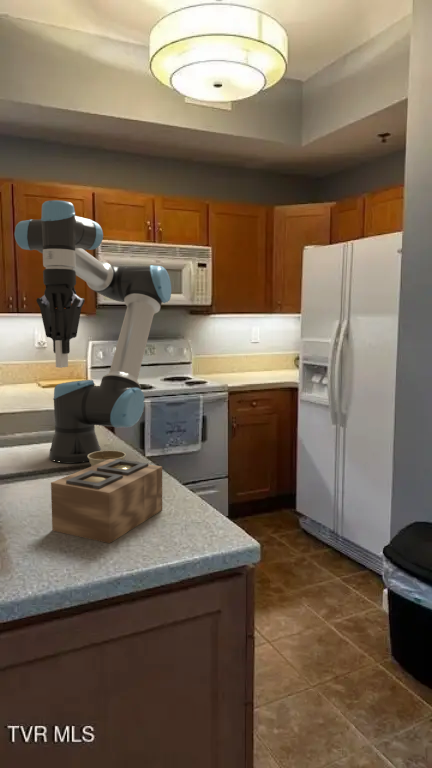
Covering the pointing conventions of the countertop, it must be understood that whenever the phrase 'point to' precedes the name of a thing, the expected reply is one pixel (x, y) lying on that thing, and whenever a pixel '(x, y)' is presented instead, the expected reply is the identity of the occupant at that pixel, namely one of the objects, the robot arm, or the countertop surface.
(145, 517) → the socket block
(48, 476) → the countertop surface
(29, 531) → the countertop surface
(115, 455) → the flower pot
